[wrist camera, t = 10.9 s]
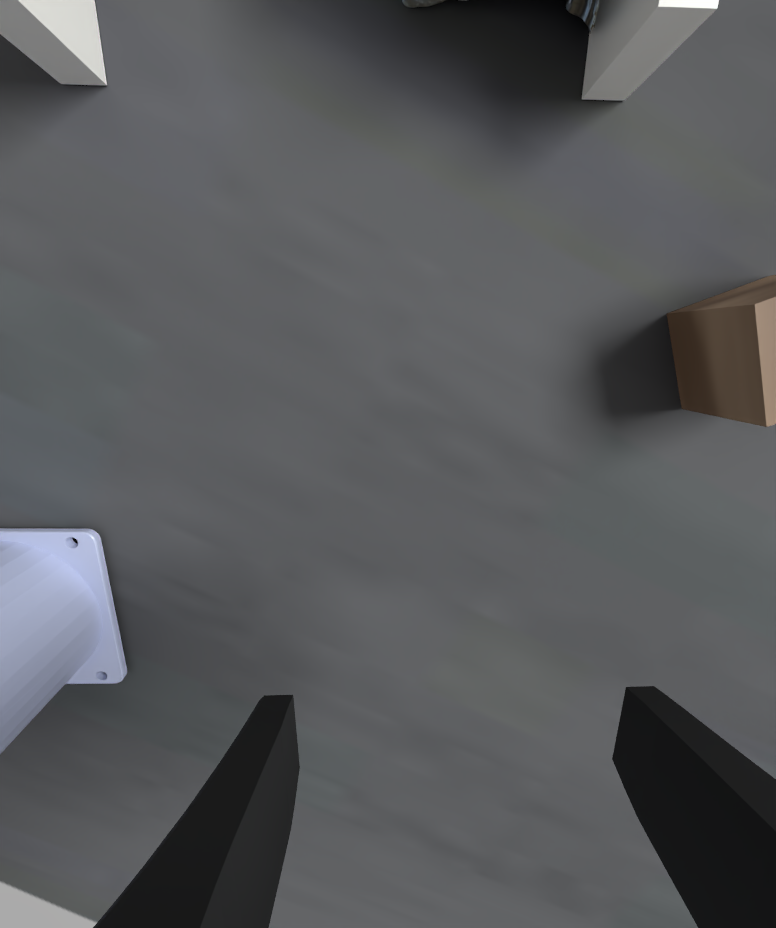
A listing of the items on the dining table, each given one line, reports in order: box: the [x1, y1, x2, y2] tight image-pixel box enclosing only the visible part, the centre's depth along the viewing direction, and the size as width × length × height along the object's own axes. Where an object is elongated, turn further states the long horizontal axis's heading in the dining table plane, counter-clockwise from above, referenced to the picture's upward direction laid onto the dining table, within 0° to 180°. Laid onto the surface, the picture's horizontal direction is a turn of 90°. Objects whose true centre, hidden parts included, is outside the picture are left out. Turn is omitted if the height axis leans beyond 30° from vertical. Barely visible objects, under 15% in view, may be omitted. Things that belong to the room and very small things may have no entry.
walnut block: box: [667, 275, 776, 427], centre depth 15 cm, size 4×4×4 cm
